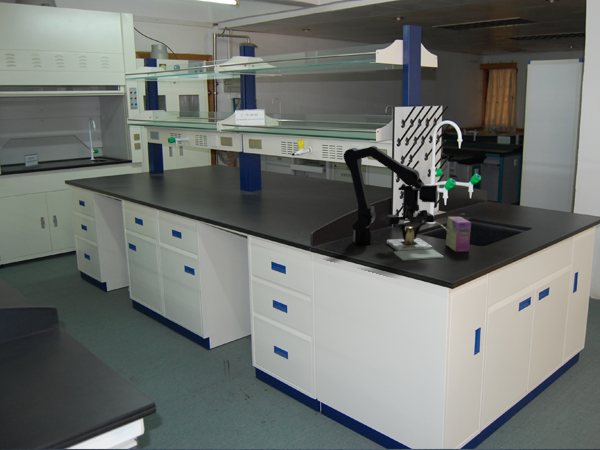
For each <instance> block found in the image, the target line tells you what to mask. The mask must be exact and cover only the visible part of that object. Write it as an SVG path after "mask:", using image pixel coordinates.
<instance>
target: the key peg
mask: <svg viewBox="0 0 600 450" xmlns="http://www.w3.org/2000/svg"><path fill="white" fill-rule="evenodd" d="M414 233H415V227H413V226H410V225H409V226H405V240H404V245H414Z"/></svg>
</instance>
